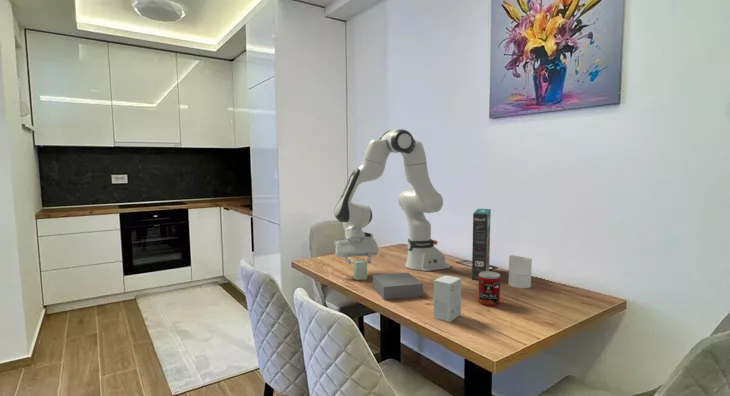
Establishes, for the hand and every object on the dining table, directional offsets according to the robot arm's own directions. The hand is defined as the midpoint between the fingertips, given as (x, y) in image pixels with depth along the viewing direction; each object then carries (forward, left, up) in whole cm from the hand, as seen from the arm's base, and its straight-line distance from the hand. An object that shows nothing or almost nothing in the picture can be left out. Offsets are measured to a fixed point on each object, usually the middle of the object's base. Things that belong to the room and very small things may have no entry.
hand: (359, 263), depth 174 cm
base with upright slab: (-64, +28, -7) cm, 70 cm away
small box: (-18, +52, -7) cm, 56 cm away
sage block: (0, +1, -7) cm, 7 cm away
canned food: (-39, +44, -7) cm, 59 cm away
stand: (-10, +23, -7) cm, 26 cm away
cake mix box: (-57, +9, -7) cm, 58 cm away
